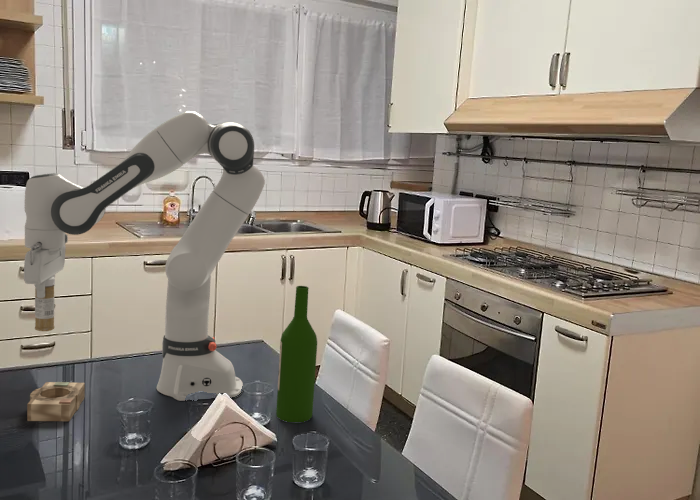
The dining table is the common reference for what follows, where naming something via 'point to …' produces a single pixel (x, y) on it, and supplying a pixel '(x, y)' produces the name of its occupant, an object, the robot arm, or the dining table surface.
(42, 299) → the sprinkles bottle
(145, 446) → the dining table surface
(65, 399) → the socket block
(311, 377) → the wine bottle
